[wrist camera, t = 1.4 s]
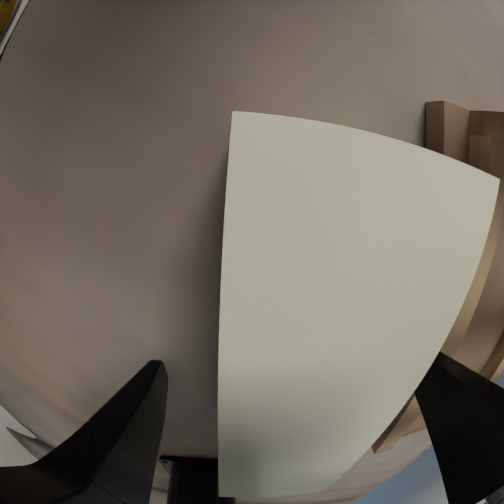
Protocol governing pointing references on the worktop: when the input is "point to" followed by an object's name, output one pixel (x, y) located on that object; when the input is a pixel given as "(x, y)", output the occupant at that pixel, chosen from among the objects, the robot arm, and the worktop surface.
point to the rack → (491, 263)
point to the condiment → (9, 18)
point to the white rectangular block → (333, 292)
